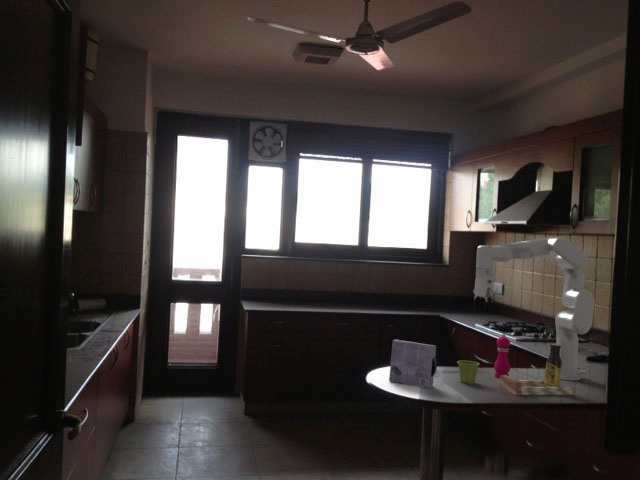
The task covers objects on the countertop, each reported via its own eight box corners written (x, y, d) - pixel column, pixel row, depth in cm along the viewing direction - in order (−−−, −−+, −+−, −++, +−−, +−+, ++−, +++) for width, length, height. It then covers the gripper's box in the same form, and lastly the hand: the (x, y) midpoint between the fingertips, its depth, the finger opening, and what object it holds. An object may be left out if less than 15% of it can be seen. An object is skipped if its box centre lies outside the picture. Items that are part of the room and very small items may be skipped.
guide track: (554, 387, 243) (554, 375, 243) (572, 394, 231) (572, 382, 231) (499, 386, 238) (500, 375, 238) (514, 394, 226) (515, 382, 226)
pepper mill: (497, 374, 263) (499, 332, 263) (512, 377, 258) (514, 334, 259) (491, 376, 257) (493, 333, 258) (506, 379, 253) (508, 335, 253)
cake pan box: (436, 386, 233) (438, 344, 233) (433, 389, 228) (435, 346, 229) (392, 379, 241) (394, 338, 242) (388, 381, 237) (390, 340, 237)
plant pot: (452, 379, 247) (453, 360, 248) (471, 379, 250) (472, 360, 250) (462, 385, 238) (463, 364, 238) (482, 385, 240) (483, 364, 241)
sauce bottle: (540, 389, 238) (543, 342, 238) (552, 388, 240) (554, 342, 241) (552, 393, 232) (554, 345, 232) (563, 392, 234) (566, 345, 235)
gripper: (501, 273, 248) (499, 312, 248) (482, 271, 265) (480, 307, 265) (486, 273, 247) (484, 311, 246) (467, 271, 263) (466, 307, 263)
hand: (482, 309), depth 256 cm, fingers open, 9 cm apart
